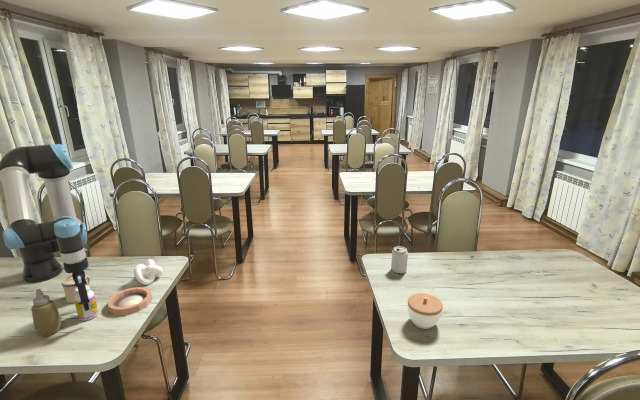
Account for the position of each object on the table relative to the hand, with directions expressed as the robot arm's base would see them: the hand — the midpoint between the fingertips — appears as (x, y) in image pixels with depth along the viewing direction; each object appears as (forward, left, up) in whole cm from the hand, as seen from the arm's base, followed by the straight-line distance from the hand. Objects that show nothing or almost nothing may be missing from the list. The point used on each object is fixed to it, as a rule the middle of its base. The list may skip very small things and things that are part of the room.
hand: (86, 308), depth 137 cm
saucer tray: (+1, +15, -4) cm, 16 cm away
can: (+53, +125, -4) cm, 136 cm away
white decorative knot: (-14, +25, -4) cm, 29 cm away
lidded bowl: (+85, +101, -4) cm, 132 cm away
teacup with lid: (-19, -1, -4) cm, 19 cm away
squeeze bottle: (+2, -12, -4) cm, 13 cm away
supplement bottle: (0, 0, -4) cm, 4 cm away
